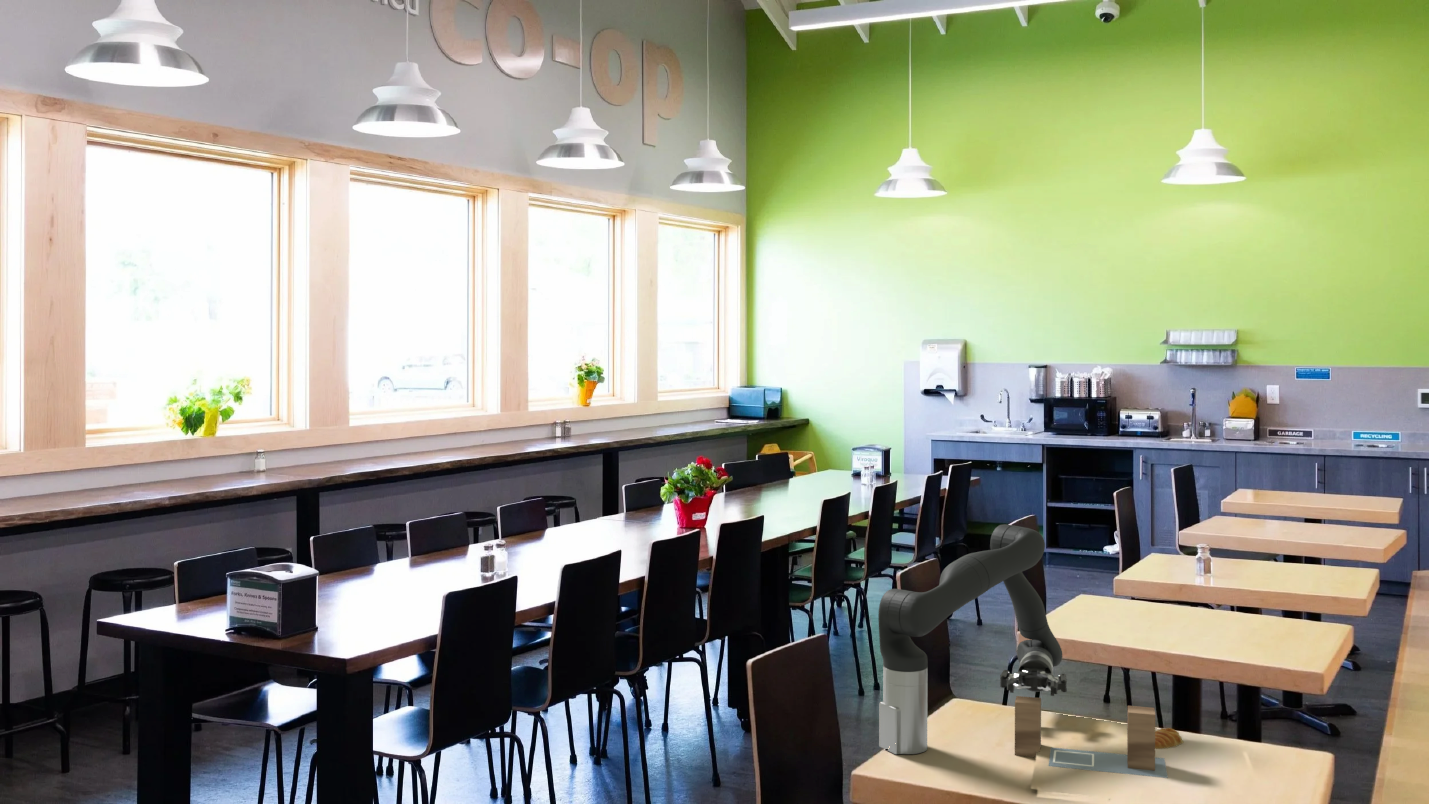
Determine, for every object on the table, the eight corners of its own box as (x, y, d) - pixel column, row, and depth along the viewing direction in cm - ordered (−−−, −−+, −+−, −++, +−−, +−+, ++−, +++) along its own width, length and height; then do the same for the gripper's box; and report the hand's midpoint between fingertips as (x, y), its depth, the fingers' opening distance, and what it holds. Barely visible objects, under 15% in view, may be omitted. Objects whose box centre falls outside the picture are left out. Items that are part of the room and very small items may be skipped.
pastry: (1164, 758, 237) (1164, 740, 237) (1133, 750, 242) (1133, 732, 242) (1186, 748, 243) (1186, 730, 243) (1156, 741, 248) (1156, 723, 248)
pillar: (1039, 757, 237) (1039, 704, 237) (1014, 755, 239) (1014, 702, 238) (1040, 750, 242) (1041, 698, 241) (1016, 747, 243) (1016, 696, 243)
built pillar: (1155, 770, 225) (1155, 714, 225) (1127, 768, 227) (1128, 712, 227) (1153, 762, 230) (1154, 707, 230) (1127, 760, 232) (1127, 705, 231)
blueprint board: (1167, 784, 221) (1167, 777, 221) (1048, 771, 228) (1048, 765, 228) (1164, 764, 233) (1164, 757, 233) (1050, 753, 240) (1050, 746, 240)
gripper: (1003, 652, 268) (998, 670, 253) (1068, 656, 264) (1066, 675, 248) (1004, 684, 268) (998, 704, 253) (1068, 689, 264) (1066, 709, 249)
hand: (1031, 689), depth 251 cm, fingers open, 8 cm apart
